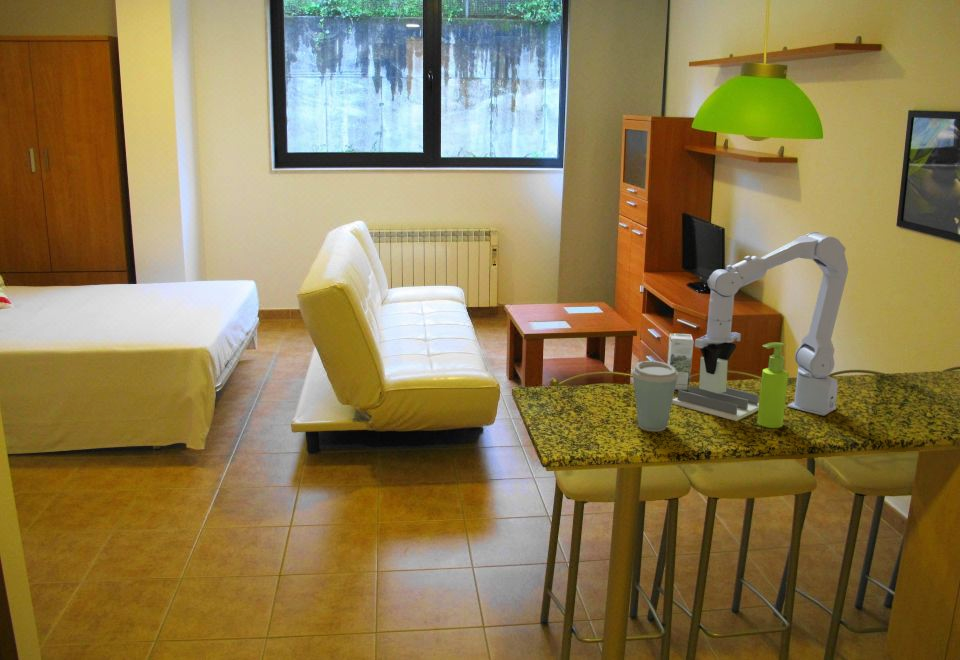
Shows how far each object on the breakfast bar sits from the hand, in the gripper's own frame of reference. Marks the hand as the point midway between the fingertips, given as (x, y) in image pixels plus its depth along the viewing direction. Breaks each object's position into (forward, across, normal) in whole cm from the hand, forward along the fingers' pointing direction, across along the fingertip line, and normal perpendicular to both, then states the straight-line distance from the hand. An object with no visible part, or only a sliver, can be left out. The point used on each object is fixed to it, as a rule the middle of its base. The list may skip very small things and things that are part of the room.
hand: (715, 372), depth 223 cm
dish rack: (+9, +3, 0) cm, 10 cm away
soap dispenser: (+10, +3, -15) cm, 18 cm away
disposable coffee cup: (+10, -24, -2) cm, 26 cm away
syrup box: (+10, +5, +16) cm, 20 cm away
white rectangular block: (+5, 0, 0) cm, 5 cm away
